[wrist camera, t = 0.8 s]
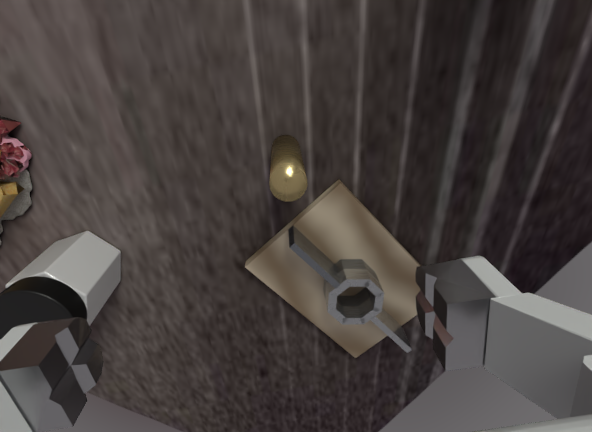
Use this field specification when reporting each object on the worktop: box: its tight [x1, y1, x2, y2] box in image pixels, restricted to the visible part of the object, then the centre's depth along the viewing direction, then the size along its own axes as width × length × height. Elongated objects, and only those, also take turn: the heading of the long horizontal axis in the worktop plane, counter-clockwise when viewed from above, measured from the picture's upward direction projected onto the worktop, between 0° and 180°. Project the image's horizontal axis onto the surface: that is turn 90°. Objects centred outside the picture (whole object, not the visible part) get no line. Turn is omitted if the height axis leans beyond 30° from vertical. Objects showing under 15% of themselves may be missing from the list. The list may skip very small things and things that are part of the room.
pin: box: [269, 135, 307, 201], centre depth 36 cm, size 3×3×12 cm
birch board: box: [245, 179, 421, 358], centre depth 49 cm, size 16×22×2 cm
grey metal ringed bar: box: [288, 225, 412, 353], centre depth 46 cm, size 7×22×4 cm, turn 44°
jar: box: [0, 231, 121, 339], centre depth 41 cm, size 9×8×12 cm
